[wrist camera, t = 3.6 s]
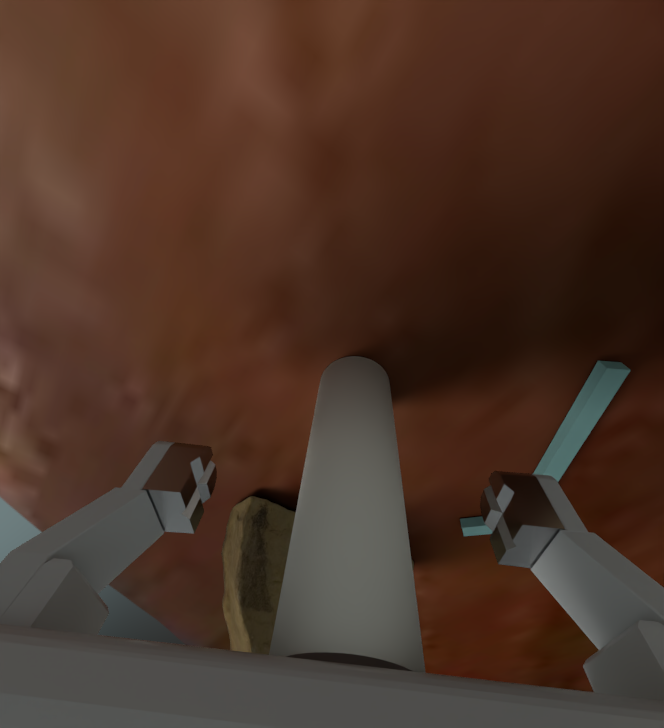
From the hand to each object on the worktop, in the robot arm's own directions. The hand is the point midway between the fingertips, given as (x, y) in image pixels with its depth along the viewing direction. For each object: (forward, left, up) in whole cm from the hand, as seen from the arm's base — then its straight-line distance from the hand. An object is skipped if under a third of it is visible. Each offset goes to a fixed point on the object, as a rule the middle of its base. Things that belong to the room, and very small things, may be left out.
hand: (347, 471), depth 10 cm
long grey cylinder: (0, 0, -4) cm, 4 cm away
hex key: (-3, -8, -4) cm, 10 cm away
